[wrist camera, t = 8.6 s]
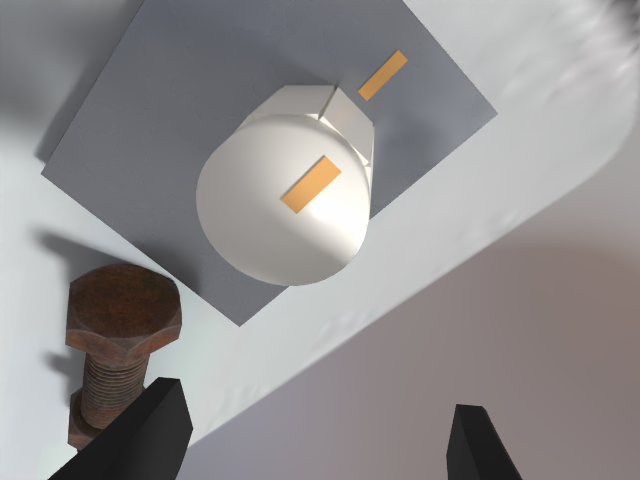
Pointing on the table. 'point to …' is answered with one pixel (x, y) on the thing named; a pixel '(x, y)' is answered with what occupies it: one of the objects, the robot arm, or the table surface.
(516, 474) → the robot arm
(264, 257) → the knob
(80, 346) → the bolt
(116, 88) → the plate
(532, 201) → the table surface
